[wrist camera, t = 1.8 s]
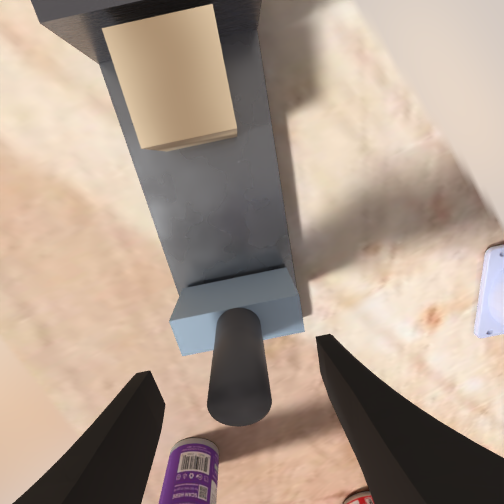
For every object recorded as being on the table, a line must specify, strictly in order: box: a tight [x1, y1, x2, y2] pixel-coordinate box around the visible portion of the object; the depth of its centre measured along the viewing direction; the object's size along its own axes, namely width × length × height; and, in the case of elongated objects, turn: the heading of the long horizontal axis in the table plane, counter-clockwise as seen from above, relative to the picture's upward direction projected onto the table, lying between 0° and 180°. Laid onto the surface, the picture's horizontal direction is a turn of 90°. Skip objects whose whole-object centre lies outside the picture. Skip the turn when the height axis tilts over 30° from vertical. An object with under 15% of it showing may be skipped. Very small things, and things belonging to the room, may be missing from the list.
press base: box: [31, 0, 297, 296], centre depth 14 cm, size 8×20×5 cm, turn 11°
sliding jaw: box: [169, 267, 305, 426], centre depth 13 cm, size 7×2×8 cm, turn 101°
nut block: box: [102, 4, 237, 152], centre depth 11 cm, size 4×4×4 cm
